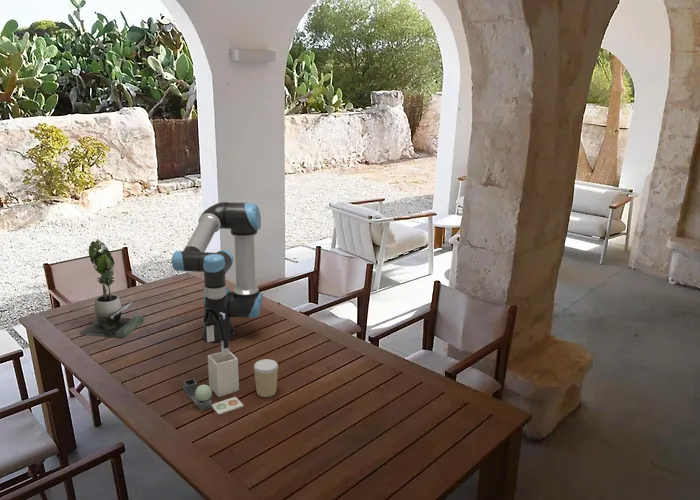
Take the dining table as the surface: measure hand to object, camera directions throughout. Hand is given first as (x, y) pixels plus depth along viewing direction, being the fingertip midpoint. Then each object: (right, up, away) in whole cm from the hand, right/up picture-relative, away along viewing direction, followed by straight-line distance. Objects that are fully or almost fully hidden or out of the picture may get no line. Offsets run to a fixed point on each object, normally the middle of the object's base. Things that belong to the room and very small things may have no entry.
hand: (217, 348), depth 218 cm
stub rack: (-9, -19, +2) cm, 21 cm away
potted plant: (-64, 0, +58) cm, 86 cm away
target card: (+4, -21, -3) cm, 22 cm away
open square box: (0, -18, +9) cm, 20 cm away
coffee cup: (+17, -19, +7) cm, 27 cm away
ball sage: (-4, -19, -4) cm, 20 cm away
